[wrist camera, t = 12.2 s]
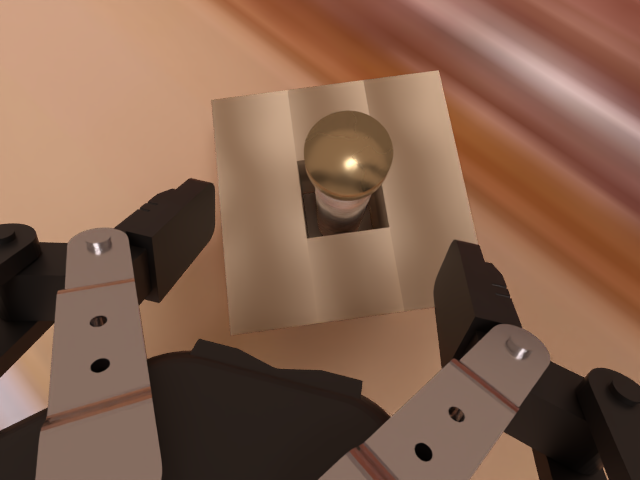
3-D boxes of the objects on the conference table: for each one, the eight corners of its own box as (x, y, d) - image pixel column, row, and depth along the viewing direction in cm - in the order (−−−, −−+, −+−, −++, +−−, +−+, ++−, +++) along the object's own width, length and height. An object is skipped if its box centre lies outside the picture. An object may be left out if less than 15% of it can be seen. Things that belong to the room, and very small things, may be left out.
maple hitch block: (415, 120, 24) (438, 70, 19) (453, 303, 22) (490, 299, 17) (234, 143, 24) (211, 99, 19) (252, 331, 22) (230, 335, 17)
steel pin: (360, 193, 23) (385, 105, 14) (368, 243, 23) (400, 187, 13) (309, 200, 23) (298, 116, 14) (316, 250, 23) (309, 199, 13)
